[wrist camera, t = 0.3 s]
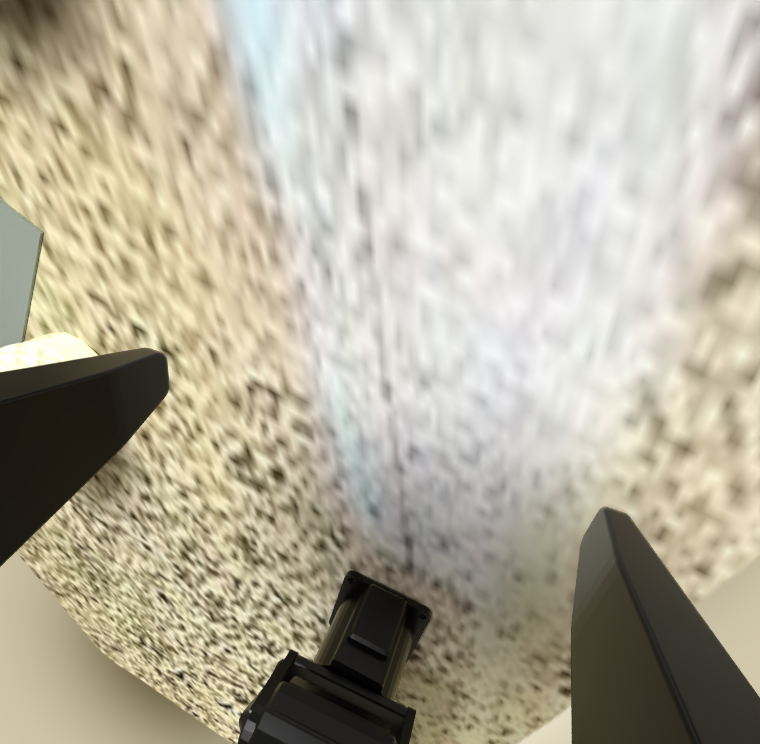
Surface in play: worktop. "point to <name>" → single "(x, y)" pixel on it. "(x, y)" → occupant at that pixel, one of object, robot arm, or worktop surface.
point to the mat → (16, 272)
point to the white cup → (43, 351)
